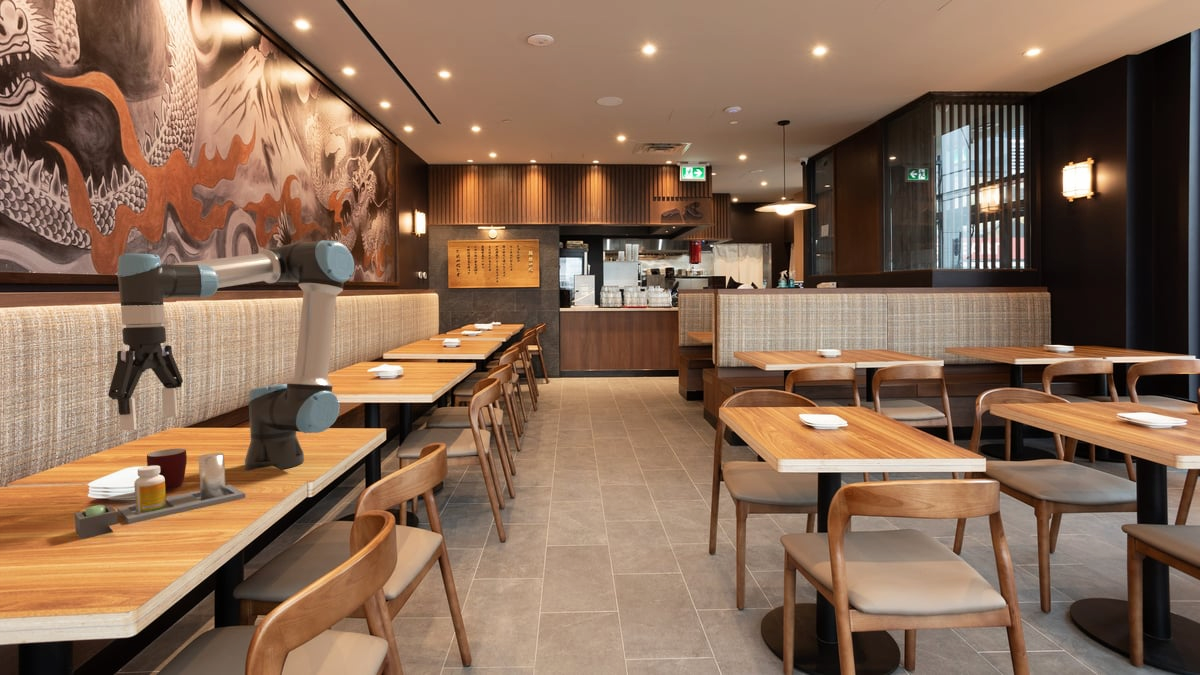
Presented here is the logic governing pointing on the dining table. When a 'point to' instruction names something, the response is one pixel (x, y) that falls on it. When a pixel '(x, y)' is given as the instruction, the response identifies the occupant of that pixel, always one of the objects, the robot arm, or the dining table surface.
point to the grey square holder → (95, 523)
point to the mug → (169, 465)
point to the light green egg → (95, 510)
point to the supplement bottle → (149, 490)
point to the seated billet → (212, 475)
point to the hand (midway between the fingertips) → (150, 422)
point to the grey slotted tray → (179, 505)
